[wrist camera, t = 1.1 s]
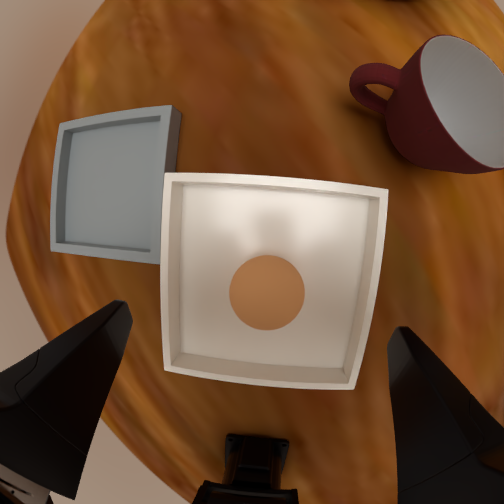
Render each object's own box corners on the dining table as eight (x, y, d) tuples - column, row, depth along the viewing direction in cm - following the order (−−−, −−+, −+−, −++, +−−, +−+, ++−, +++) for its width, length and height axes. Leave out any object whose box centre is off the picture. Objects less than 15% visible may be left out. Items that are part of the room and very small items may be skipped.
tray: (170, 259, 22) (159, 264, 20) (65, 247, 23) (50, 250, 21) (181, 113, 20) (172, 104, 18) (73, 128, 21) (59, 123, 19)
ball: (298, 317, 21) (302, 346, 16) (233, 311, 22) (220, 338, 17) (305, 253, 20) (312, 266, 16) (237, 247, 21) (224, 258, 16)
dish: (346, 370, 22) (353, 389, 19) (176, 353, 23) (164, 370, 21) (374, 192, 20) (388, 189, 17) (179, 177, 21) (164, 172, 18)
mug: (328, 160, 20) (367, 121, 10) (340, 72, 19) (370, -2, 9) (444, 194, 19) (525, 190, 9) (448, 109, 18) (515, 72, 8)
